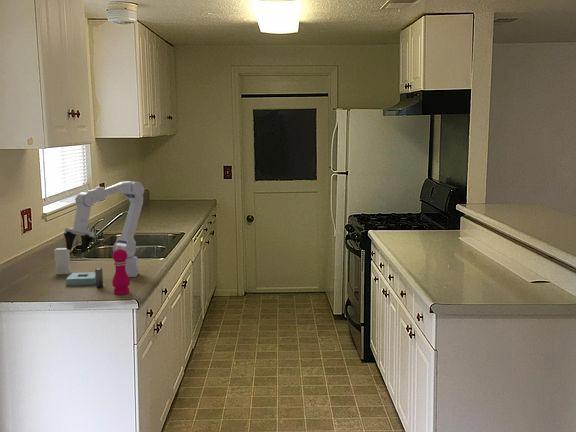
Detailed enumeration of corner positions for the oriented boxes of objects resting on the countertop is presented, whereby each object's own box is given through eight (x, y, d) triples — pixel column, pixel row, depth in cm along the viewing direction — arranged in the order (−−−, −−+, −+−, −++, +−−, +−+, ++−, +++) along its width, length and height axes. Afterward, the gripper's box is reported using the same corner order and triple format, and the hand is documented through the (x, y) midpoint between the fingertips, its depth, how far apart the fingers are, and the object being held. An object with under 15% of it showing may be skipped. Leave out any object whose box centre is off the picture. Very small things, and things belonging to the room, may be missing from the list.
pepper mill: (130, 294, 260) (128, 246, 257) (112, 295, 258) (110, 248, 255) (130, 290, 267) (128, 243, 264) (112, 291, 265) (110, 244, 262)
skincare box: (71, 272, 300) (69, 247, 298) (68, 274, 295) (67, 249, 294) (57, 272, 299) (56, 247, 297) (55, 274, 295) (53, 249, 293)
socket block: (99, 278, 287) (99, 271, 287) (94, 284, 276) (94, 278, 275) (72, 279, 286) (72, 272, 286) (66, 285, 274) (65, 279, 274)
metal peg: (103, 286, 274) (102, 268, 272) (102, 287, 271) (101, 269, 269) (96, 286, 273) (95, 268, 272) (95, 288, 270) (94, 269, 269)
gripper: (61, 216, 270) (56, 248, 269) (88, 220, 265) (82, 252, 264) (73, 218, 277) (67, 249, 276) (99, 222, 271) (93, 253, 270)
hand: (75, 251), depth 270 cm, fingers open, 7 cm apart
